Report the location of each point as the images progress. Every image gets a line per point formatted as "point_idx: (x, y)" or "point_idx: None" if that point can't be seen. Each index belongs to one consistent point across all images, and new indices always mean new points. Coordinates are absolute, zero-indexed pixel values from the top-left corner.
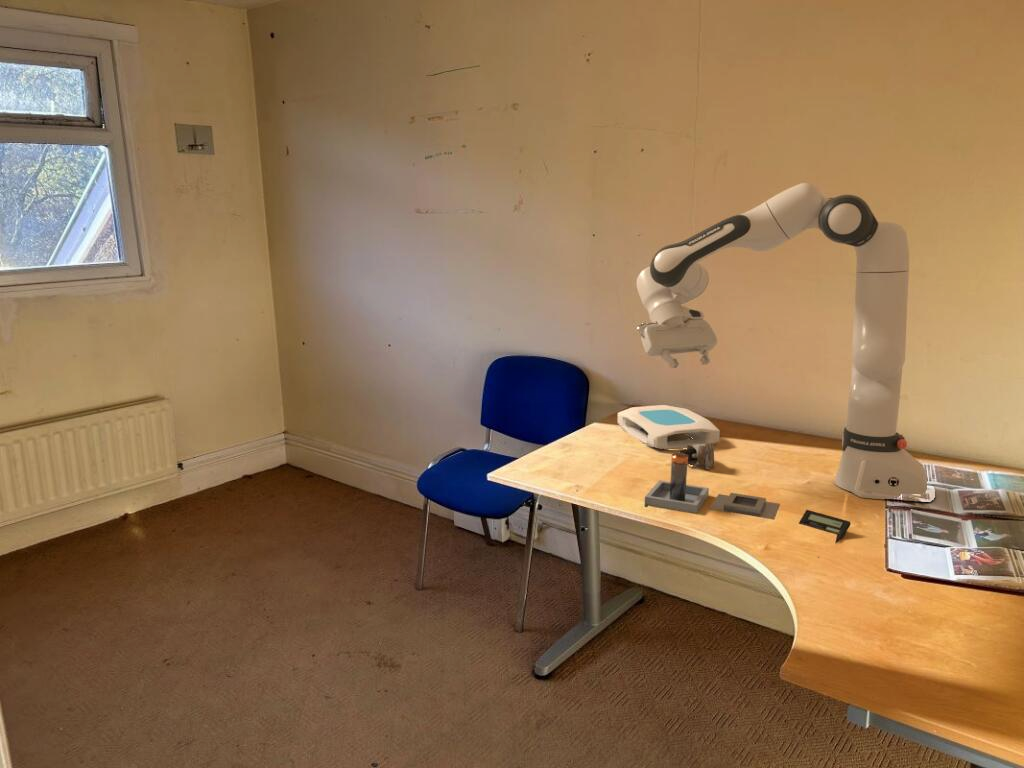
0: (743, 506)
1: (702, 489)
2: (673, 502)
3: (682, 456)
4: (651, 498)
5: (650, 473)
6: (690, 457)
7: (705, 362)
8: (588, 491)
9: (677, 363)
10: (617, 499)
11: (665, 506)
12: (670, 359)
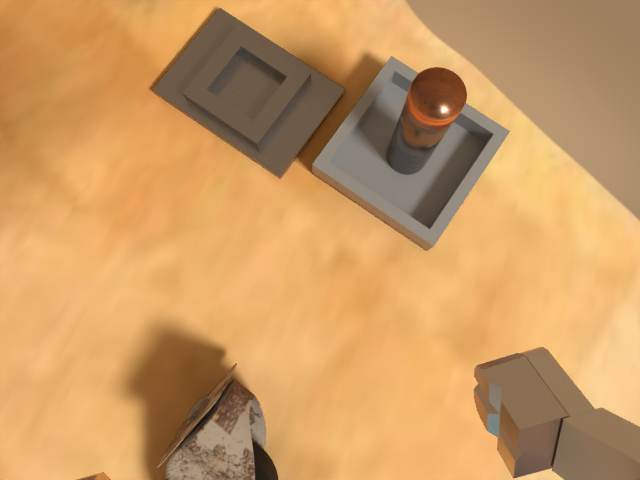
0: (268, 52)
1: (331, 164)
2: None
3: (432, 83)
4: (493, 122)
5: (411, 395)
6: (258, 449)
7: (99, 476)
8: (629, 272)
9: (496, 366)
10: (558, 202)
11: None
12: (601, 417)
